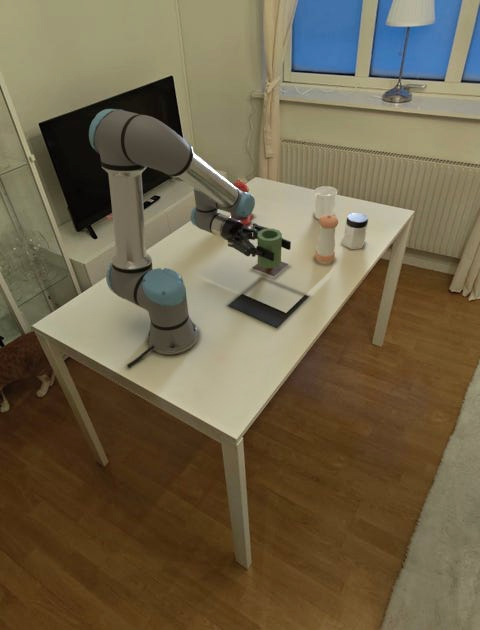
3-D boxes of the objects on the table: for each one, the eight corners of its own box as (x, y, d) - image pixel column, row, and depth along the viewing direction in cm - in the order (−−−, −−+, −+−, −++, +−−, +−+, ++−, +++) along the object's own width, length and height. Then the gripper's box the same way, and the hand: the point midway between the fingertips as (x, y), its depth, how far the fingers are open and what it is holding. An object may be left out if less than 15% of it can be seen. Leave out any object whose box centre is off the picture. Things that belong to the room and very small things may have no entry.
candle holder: (309, 212, 199) (311, 188, 191) (328, 209, 201) (331, 184, 193) (318, 222, 192) (320, 197, 184) (338, 218, 194) (341, 193, 186)
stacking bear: (249, 226, 191) (249, 188, 180) (227, 224, 193) (225, 186, 181) (254, 215, 199) (253, 177, 188) (232, 213, 201) (230, 176, 190)
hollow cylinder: (272, 270, 136) (272, 243, 129) (253, 263, 139) (252, 236, 133) (285, 259, 140) (286, 232, 134) (266, 253, 144) (266, 226, 137)
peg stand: (273, 279, 160) (274, 240, 150) (251, 270, 165) (251, 232, 154) (288, 266, 166) (290, 229, 155) (266, 258, 171) (267, 221, 160)
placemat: (276, 328, 139) (276, 327, 139) (228, 305, 149) (228, 304, 149) (308, 296, 151) (308, 296, 151) (261, 278, 161) (261, 277, 160)
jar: (361, 251, 172) (366, 224, 165) (341, 247, 175) (344, 220, 167) (365, 240, 179) (370, 214, 171) (346, 237, 181) (349, 210, 174)
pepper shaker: (325, 267, 165) (330, 221, 152) (311, 259, 169) (314, 214, 157) (337, 260, 168) (343, 215, 156) (323, 252, 173) (328, 208, 160)
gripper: (248, 226, 153) (300, 248, 141) (207, 250, 142) (260, 276, 130) (247, 207, 149) (302, 227, 137) (205, 230, 137) (260, 254, 125)
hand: (281, 251), depth 133 cm, fingers closed on hollow cylinder, 7 cm apart
